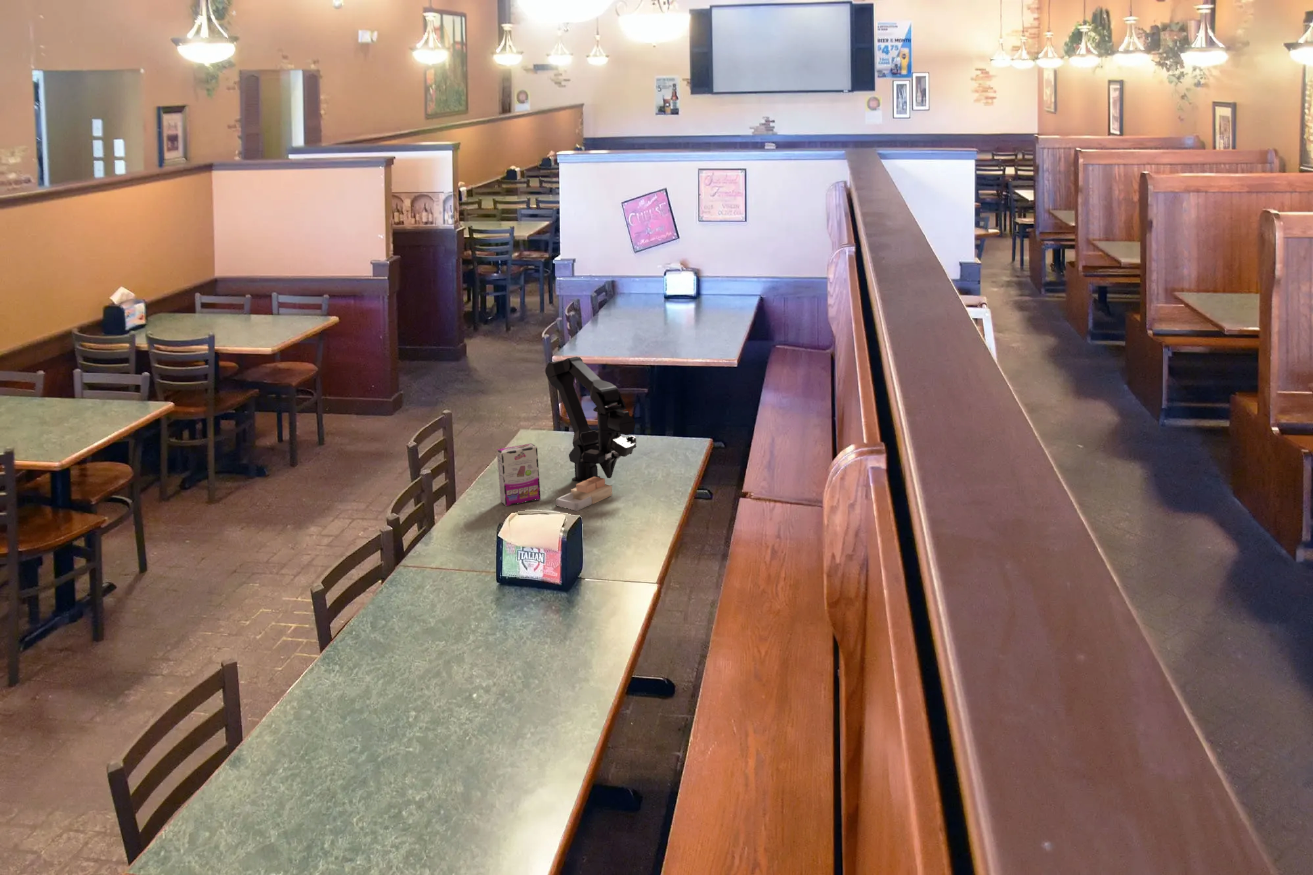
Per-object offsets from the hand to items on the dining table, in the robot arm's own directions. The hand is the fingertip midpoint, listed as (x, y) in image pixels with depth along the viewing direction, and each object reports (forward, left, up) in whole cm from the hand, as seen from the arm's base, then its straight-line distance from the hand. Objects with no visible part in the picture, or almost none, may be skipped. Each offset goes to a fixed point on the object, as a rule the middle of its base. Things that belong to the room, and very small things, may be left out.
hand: (609, 477), depth 344 cm
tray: (0, -17, -4) cm, 17 cm away
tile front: (0, -11, -1) cm, 11 cm away
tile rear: (0, -7, -1) cm, 7 cm away
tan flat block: (0, -9, -4) cm, 9 cm away
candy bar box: (-16, -22, -4) cm, 28 cm away
